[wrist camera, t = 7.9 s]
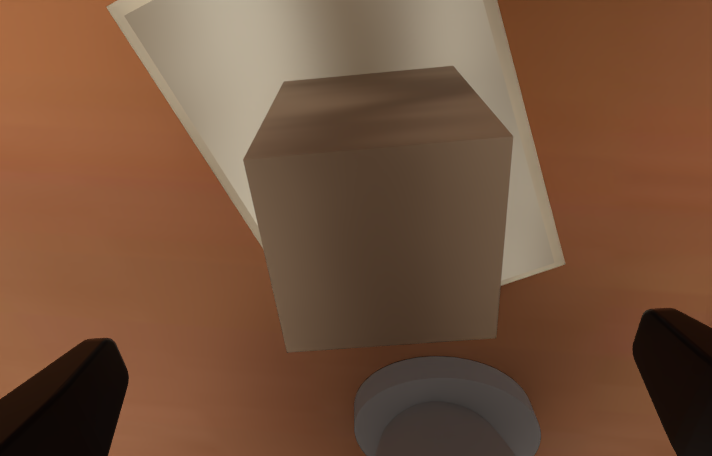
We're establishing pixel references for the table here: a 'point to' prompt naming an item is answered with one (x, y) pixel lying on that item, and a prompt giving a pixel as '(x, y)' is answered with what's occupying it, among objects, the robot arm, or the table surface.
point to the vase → (444, 411)
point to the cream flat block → (331, 59)
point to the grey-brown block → (382, 209)
